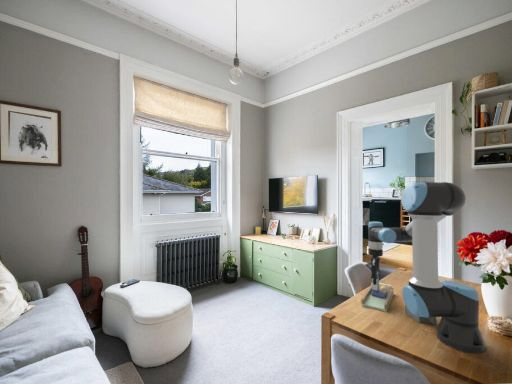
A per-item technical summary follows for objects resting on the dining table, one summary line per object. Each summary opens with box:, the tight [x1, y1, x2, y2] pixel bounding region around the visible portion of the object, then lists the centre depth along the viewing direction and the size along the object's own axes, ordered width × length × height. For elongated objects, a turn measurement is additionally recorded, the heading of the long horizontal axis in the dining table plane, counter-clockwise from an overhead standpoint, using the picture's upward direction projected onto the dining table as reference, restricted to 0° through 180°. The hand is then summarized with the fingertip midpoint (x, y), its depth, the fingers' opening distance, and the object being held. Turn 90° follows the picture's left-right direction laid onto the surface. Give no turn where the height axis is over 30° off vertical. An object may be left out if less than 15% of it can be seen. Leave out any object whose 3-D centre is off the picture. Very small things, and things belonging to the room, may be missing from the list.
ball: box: [380, 286, 388, 291], centre depth 148 cm, size 4×4×4 cm
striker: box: [372, 271, 387, 298], centre depth 144 cm, size 6×7×14 cm
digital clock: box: [404, 304, 438, 325], centre depth 121 cm, size 16×9×11 cm, turn 0°
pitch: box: [360, 282, 394, 313], centre depth 141 cm, size 27×12×6 cm, turn 145°
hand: (375, 288), depth 145 cm, fingers closed on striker, 3 cm apart
